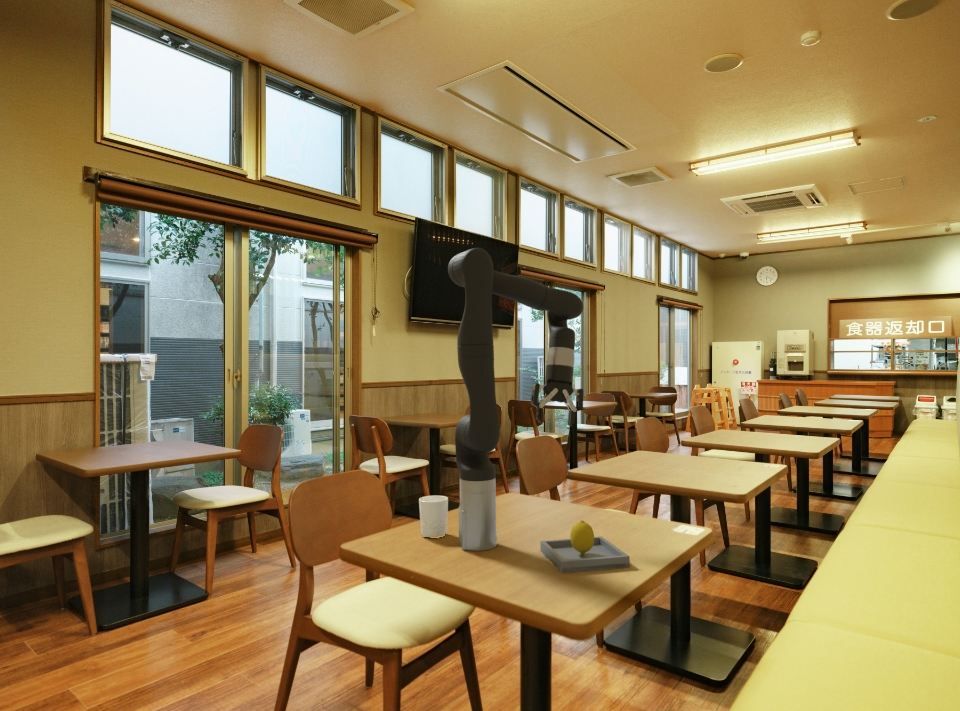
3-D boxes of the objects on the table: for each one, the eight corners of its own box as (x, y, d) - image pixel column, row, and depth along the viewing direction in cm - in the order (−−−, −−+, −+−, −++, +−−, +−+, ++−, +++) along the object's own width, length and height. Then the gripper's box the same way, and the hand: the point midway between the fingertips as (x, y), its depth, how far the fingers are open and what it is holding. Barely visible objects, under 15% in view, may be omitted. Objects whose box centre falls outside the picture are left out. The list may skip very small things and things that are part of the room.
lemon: (568, 556, 138) (568, 522, 138) (573, 549, 144) (572, 516, 144) (592, 559, 136) (591, 524, 137) (596, 552, 142) (595, 518, 142)
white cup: (435, 541, 156) (434, 503, 156) (413, 536, 160) (412, 499, 161) (454, 534, 162) (453, 497, 162) (432, 529, 167) (432, 494, 167)
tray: (561, 573, 130) (561, 561, 131) (540, 551, 146) (540, 540, 146) (629, 567, 134) (629, 556, 134) (601, 546, 149) (601, 536, 149)
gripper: (539, 360, 159) (533, 421, 157) (589, 367, 162) (584, 426, 159) (531, 363, 167) (526, 421, 164) (579, 369, 169) (575, 426, 167)
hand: (555, 424), depth 162 cm, fingers open, 8 cm apart
